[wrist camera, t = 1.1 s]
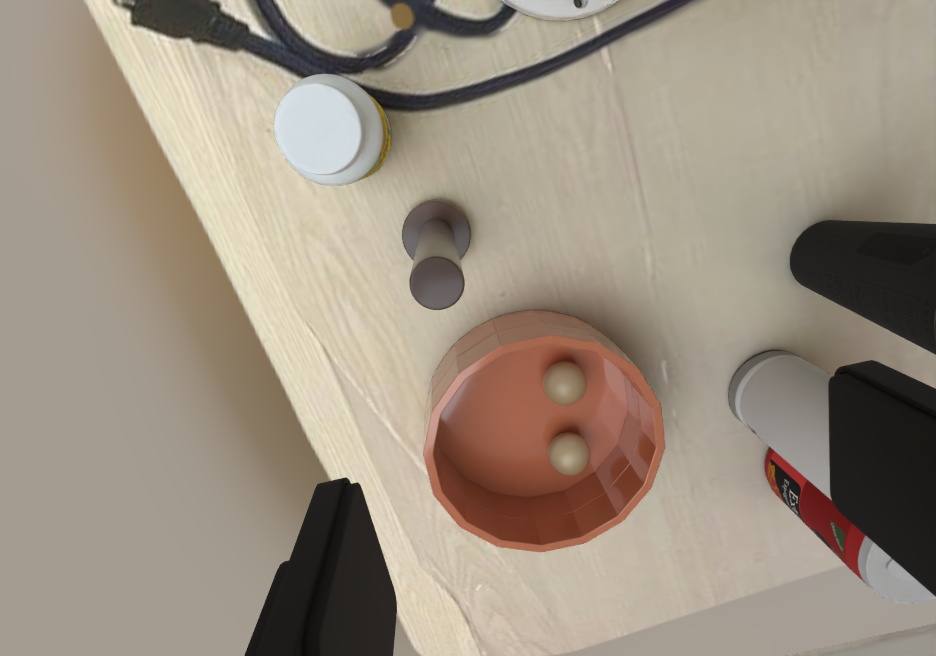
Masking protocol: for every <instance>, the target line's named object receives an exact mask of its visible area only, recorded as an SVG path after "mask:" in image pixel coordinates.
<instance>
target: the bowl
mask: <svg viewBox="0 0 936 656" xmlns="http://www.w3.org/2000/svg"><path fill="white" fill-rule="evenodd" d="M562 361H567V362H572V363H574V364H576V365H578V366H579V367H580V368H581V369H582V370H583V371H584V373H585V375H586V378H587V389H586V392H585V394H584V396H583V397H582V398H581V399H580V400H579V401H578V402H576V403H574V404H571V405H560V404H557V403H555V402H553V401H552V400H551V399H549V397H548V396H547V395H546V393H545V391H544V388H543V378H544V375H545V373H546V371H547V370H548V368H549V367H550V366H552V365H553V364H555V363H557V362H562ZM566 432H570V433H575V434H577V435H579V436H581V437H582V438H583V439H584V440H585V441H586V442H587V444H588V446H589V448H590V454H591V455H590V461H589V464H588V466H587V467H586V468H585V469H584V470H583V471H582V472H581V473H579V474H576V475H564V474H561V473H559V472H558V471H556V470H555V469H554V468H553V466H552V465H551V463H550V461H549V457H548V448H549V445H550V443H551V441H552V440H553V439H554V438H555V437H556V436H558V435H559V434H562V433H566ZM664 449H665V440H664V430H663V420H662V410H661V405H660V402H659V401H658V399H657V398H656V396H655V394H654V393H653V391H652V389H651V388H650V386H649V385H648V383H647V381H646V380H645V378H644V376H643V375H642V373H641V372H640V370H639V369H638V368H637V366H636V365H635V364H634V363H633V362H632V361H631V360H630V359H629V358H628V357H627V356H626V355H625V354H624V353H623V352H622V351H621V350H620V349H619V348H618V347H617V346H616V345H615V343H614V342H613V341H612V340H610V339H609V338H607V337H606V336H604V335H603V334H601V333H600V332H599V331H597V330H596V329H595V328H593V327H592V326H590V325H589V324H587V323H585V322H583V321H581V320H580V319H578V318H574V317H571V316H569V315H565V314H561V313H557V312H551V311H542V310H533V311H521V312H514V313H509V314H506V315H502V316H499V317H496V318H494V319H491V320H489V321H487V322H485V323H483V324H481V325H479V326H478V327H476V328H474V329H472V330H471V331H470V332H468V333H467V334H466V335H465V336H463V337H462V338H461V339H460V340H459V341H458V342H457V343H456V344H455V345H454V346H453V347H452V348H451V349H450V350H449V352H448V353H447V354H446V355H445V357H444V358H443V360H442V361H441V363H440V365H439V366H438V368H437V370H436V372H435V374H434V376H433V377H432V381H431V386H430V390H429V393H428V401H427V407H426V412H425V423H424V448H423V456H424V460H425V464H426V468H427V471H428V475H429V479H430V483H431V487H432V491H433V494H434V496H435V497H436V499H437V500H438V501H439V502H440V503H441V505H442V506H443V507H444V508H445V510H446V511H447V512H448V513H449V514H450V516H451V517H452V518H453V519H454V521H455V522H456V523H457V524H458V525H459V527H461V528H463V529H465V530H466V531H468V532H470V533H472V534H474V535H476V536H478V537H480V538H482V539H484V540H485V541H487V542H489V543H491V544H493V545H495V546H498V547H502V548H510V549H518V550H526V551H534V552H546V551H550V550H555V549H560V548H565V547H570V546H575V545H579V544H584V543H586V542H588V541H590V540H591V539H593V538H595V537H597V536H598V535H600V534H602V533H604V532H605V531H607V530H609V529H610V528H612V527H614V526H616V525H617V524H619V523H621V522H622V521H623V520H625V518H626V517H627V516H628V515H629V514H630V513H631V511H632V510H633V509H634V508H635V507H636V505H637V504H638V503H639V502H640V501H641V500H642V498H643V497H644V496H645V495H646V494H647V492H648V491H649V490H650V489H651V487H652V485H653V482H654V479H655V476H656V473H657V470H658V467H659V464H660V461H661V458H662V455H663V452H664Z"/></svg>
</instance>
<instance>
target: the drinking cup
mask: <svg viewBox="0 0 936 656" xmlns="http://www.w3.org/2000/svg"><path fill="white" fill-rule="evenodd" d="M790 266H791V271H792V273H793V276H794V277H795V279H796V280H797V281H798V282H799V283H800V284H801V285H803V286H805V287H807V288H809V289H810V290H812V291H814V292H816V293H818V294H820V295H822V296H824V297H826V298H828V299H830V300H832V301H834V302H836V303H837V304H839V305H841V306H843V307H845V308H847V309H849V310H851V311H853V312H855V313H857V314H859V315H861V316H862V317H864V318H866V319H868V320H870V321H872V322H874V323H876V324H878V325H880V326H882V327H884V328H886V329H888V330H889V331H891V332H893V333H895V334H897V335H899V336H901V337H903V338H905V339H907V340H909V341H911V342H913V343H915V344H916V345H918V346H920V347H922V348H924V349H926V350H928V351H930V352H932V353H934V354H936V224H920V223H891V222H863V221H835V220H830V221H823V222H820V223H817V224H815V225H813V226H811V227H810V228H808V229H807V230H806V231H805V232H803V234H802V235H801V236H800V237H799V238H798V240H797V241H796V243H795V245H794V247H793V249H792V252H791V257H790Z"/></svg>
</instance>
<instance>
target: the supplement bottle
mask: <svg viewBox="0 0 936 656" xmlns="http://www.w3.org/2000/svg"><path fill="white" fill-rule="evenodd" d="M274 133H275V137H276V141H277V143H278V146H279V148H280V150H281V152H282V154H283V155H284V157H285V159H286V160H287V162H288V163H289V164H290V165H291V167H292V168H293V169H294V170H295V171H297V172H298V173H299V174H300V175H302V176H303V177H304V178H306V179H308V180H310V181H312V182H315V183H318V184H321V185H327V186H340V185H346V184H350V183H353V182H355V181H358V180H360V179H363V178H365V177H368V176H369V175H372V174H373V173H375V172H376V171H377V170H378V169H379V168H380V167H381V166H382V165H383V164H384V162H385V161H386V159H387V156H388V154H389V152H390V148H391V141H392V135H391V128H390V125H389V121H388V118H387V116H386V114H385V112H384V110H383V109H382V107H381V106H380V104H379V103H378V102H377V101H376V100H375V99H374V98H373V97H372V96H370V95H369V94H368V93H367V92H366V91H364V90H363V89H362V88H361V87H359V86H358V85H357V84H355V83H354V82H352V81H350V80H348V79H346V78H344V77H341V76H337V75H332V74H317V75H312V76H309V77H306V78H304V79H302V80H300V81H298V82H297V83H296V84H294V85H293V86H292V87H291V88H290V89H289V90H288V91H287V92H286V94H285V95H284V97H283V98H282V100H281V101H280V103H279V104H278V107H277V109H276V112H275V116H274Z"/></svg>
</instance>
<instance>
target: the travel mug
mask: <svg viewBox="0 0 936 656" xmlns="http://www.w3.org/2000/svg"><path fill="white" fill-rule="evenodd" d="M832 376H833V375H831V374H829V373H827V372H825V371H824V370H822V369H820V368H818V367H816V366H815V365H813V364H811V363H809V362H807V361H805V360H804V359H802V358H800V357H798V356H796V355H795V354H792V353H789V352H786V351H769V352H766V353H762V354H760V355H757V356H755V357H753V358H752V359H750V360H749V361H747V362H746V363H745V364H744V365H743V366H742V367H741V368H740V369H739V370H738V371H737V373H736V374H735V376H734V378H733V380H732V382H731V385H730V388H729V405H730V407H731V410H732V412H733V414H734V415H735V417H736V418H737V419H739V420H740V421H741V422H742V423H743V424H744V425H745V426H746V427H748V428H749V429H750V430H751V431H752V432H753V433H755V434H756V435H757V436H758V437H759V438H760V439H761V440H763V441H764V442H765V443H766V444H767V445H768V446H770V447H771V448H772V449H773V450H774V451H775V452H776V453H778V454H779V455H780V456H781V457H782V458H783V459H784V460H786V461H787V462H788V463H789V464H790V465H791V466H793V467H794V468H795V469H796V470H797V471H798V472H799V473H801V474H802V475H803V476H804V477H805V478H806V479H808V480H809V481H810V482H811V483H812V484H813V485H814V486H816V487H817V488H818V489H819V490H820V491H821V492H823V493H824V494H825V495H826V496H827V497H828V498H829V499H831V496H830V467H829V404H828V383H829V380H830V378H831V377H832ZM831 500H832V499H831Z"/></svg>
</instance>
